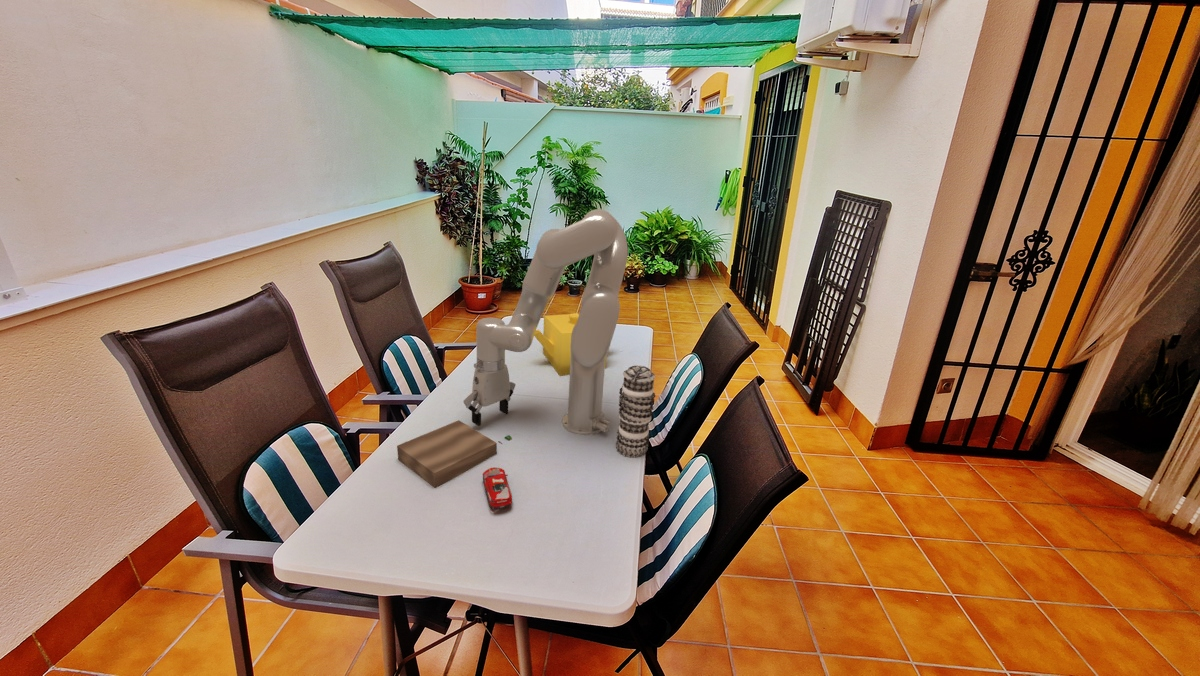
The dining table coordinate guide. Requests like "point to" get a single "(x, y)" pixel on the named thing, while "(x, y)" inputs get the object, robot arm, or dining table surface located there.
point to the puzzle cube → (506, 438)
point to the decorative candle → (635, 411)
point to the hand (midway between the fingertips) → (490, 418)
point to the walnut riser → (446, 452)
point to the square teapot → (558, 341)
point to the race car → (497, 488)
